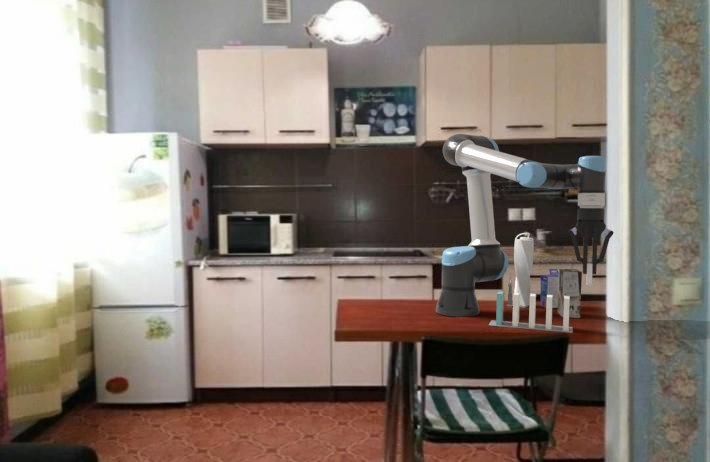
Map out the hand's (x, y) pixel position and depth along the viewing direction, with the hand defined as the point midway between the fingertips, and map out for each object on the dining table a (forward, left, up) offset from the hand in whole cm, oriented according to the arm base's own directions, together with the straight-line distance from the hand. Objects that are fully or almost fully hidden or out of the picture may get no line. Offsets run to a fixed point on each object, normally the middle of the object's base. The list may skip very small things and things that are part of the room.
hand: (589, 284), depth 167 cm
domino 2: (-16, 0, -14) cm, 22 cm away
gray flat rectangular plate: (-17, 0, -15) cm, 22 cm away
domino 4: (-6, 0, -14) cm, 16 cm away
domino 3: (-11, 0, -14) cm, 18 cm away
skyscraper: (-22, +38, -15) cm, 47 cm away
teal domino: (-26, 0, -14) cm, 30 cm away
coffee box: (-5, +26, -15) cm, 31 cm away
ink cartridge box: (-10, +41, -15) cm, 45 cm away
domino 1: (-21, 0, -14) cm, 26 cm away
